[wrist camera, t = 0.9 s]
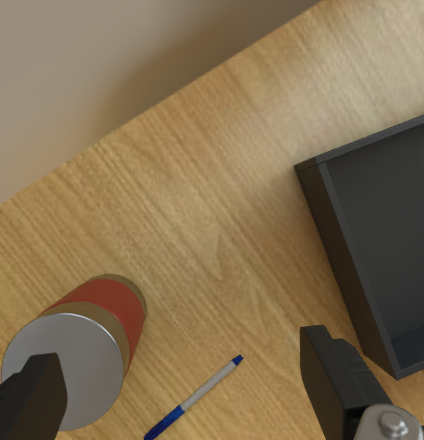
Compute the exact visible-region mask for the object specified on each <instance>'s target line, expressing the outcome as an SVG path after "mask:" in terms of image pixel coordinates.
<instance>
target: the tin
mask: <svg viewBox="0 0 424 440" xmlns="http://www.w3.org/2000/svg"><path fill="white" fill-rule="evenodd" d="M146 312H147V309H146V302H145V298H144V296H143V294H142V292H141V291H140V289H139V288H138V287H137V285H136V284H134V283H133V282H132V281H131V280H129V279H127V278H125V277H123V276H120V275H115V274H104V275H99V276H96V277H93V278H91V279H90V280H88V281H86V282H85V283H83V284H82V285H80V286H78V287H77V288H76V289H74V290H73V291H71V292H70V293H68V294H67V295H66V296H64V297H63V298H61V299H60V300H59V301H57V302H56V303H54V304H53V305H52V306H50V307H49V308H47V309H46V310H45V311H43V312H42V313H41V314H40V315H38V317H36V318H35V319H34V320H32V321H31V322H29V323H28V324H27V325H25V326H24V327H23V328H22V329H21V330H20V331H19V332H18V333H17V334H16V335H15V336H14V337H13V339H12V340H11V342H10V343H9V345H8V347H7V349H6V352H5V354H4V357H3V362H2V370H1V378H2V383H3V382H4V381H5V380H6V379H7V378H9V377H10V376H11V375H12V374H13V373H18V372H20V371H21V370H22V368H23V366H24V365H25V363H26V362H27V360H28V358H29V357H30V356H31V355H36V354H45V353H54V352H55V353H57V354H58V356H59V359H60V363H61V367H62V372H63V376H64V380H65V384H66V388H67V394H68V402H67V409H66V412H65V415H64V417H63V420H62V422H61V425H60V427H59V430H58V431H70V430H75V429H79V428H82V427H85V426H87V425H89V424H91V423H93V422H94V421H96V420H97V419H99V418H100V417H101V416H103V415H104V414H105V413H106V412H107V411H108V410H109V409H110V408H111V406H112V405H113V403H114V402H115V400H116V398H117V397H118V395H119V392H120V389H121V387H122V384H123V381H124V378H125V377H126V375H127V372H128V370H129V367H130V364H131V361H132V358H133V356H134V353H135V350H136V347H137V344H138V341H139V338H140V336H141V333H142V330H143V325H144V322H145V319H146Z"/></svg>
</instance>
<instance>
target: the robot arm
mask: <svg viewBox="0 0 424 440" xmlns="http://www.w3.org/2000/svg"><path fill="white" fill-rule="evenodd" d="M300 368H301V375H302V380H303V384H304V387H305V389H306V392H307V394H308V397H309V399H310V401H311V404H312V406H313V409H314V411H315V414H316V416H317V419H318V421H319V424H320V426H321V429H322V431H323V433H324V436H325V438H326V440H424V426H422V425H421V424H420V422H419V421H418V420H417V419H416V418H415V417H414V416H413V415H412V414H411V413H409V412H408V411H406V410H404V409H403V408H400V407H398V406H395V405H394V404H393V403H392V402H391V400H390V399H389V397H388V396H387V394H386V393H385V391H384V390H383V388H382V387H381V385H380V384H379V382H378V381H377V379H376V378H375V376H374V375H373V373H372V372H371V371H370V370H369V367H368V366H367V364H366V363H365V361H363V358H362V357H361V356H360V354H359V353H358V351H357V350H356V348H355V347H354V346H352V345H351V344H350V343H348V342H347V341H345V340H344V339H342V338H340V339H332V337H331V335H330V334H329V332H328V331H327V329H326V327H325V326H324V325H314V326H305V327H301V328H300ZM67 402H68V394H67V388H66V384H65V380H64V376H63V372H62V367H61V363H60V359H59V356H58V354H57V353H55V352H54V353H45V354H36V355H31V356H30V357H29V358H28V360H27V362H26V363H25V365H24V366H23V368H22V370H21V371H20V372H18V373H13V374H12V375H11V376H10V377H9V378H7V379H6V380H5V381H4V382H3V383H2V384H1V385H0V440H55V438H56V435H57V433H58V430H59V427H60V425H61V422H62V420H63V417H64V415H65V412H66V409H67Z"/></svg>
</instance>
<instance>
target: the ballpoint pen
mask: <svg viewBox="0 0 424 440" xmlns="http://www.w3.org/2000/svg"><path fill="white" fill-rule="evenodd" d="M242 359H243V357H241V355H239V356H237V357H236V358H234V359H232V360H231V361H230V362H229V363H228V364H226V365H225V366H224V367H223V368H222V369H221V370H220V371H218V372H217V373H216V374H215V375H214V376H213V377H212V378H210V379H209V380H208V381H207V382H206V383H205V384H204V385H202V386H201V387H200V388H199V389H198V390H197V391H195V392H194V393H193V394H192V395H191V396H190V397H189V398H187V399H186V400H185V401H184V402H183V403H182V404H181V405H178V407H176V409H174V410H173V411H172V412H171V413H169V415H167V417H165V418H164V419H163V420H161V421H160V422H159V423H158V424H157V425H156V426H154V427H153V428H152V429H151V430H150V431H149V432H148V433H147V434H146V435H145V436H144V440H153V439H154V438H156V437H157V436H158V435H159V434H160V433H162V432H163V431H164V430H165V429H166V428H167V427H169V426H170V425H171V424H172V423H173V422H174V421H175V420H177V419H178V418H179V417H180V416H181V415H182V414H184V412H185V411H186V410H187V409H188V408H189V407H191V406H192V405H193V404H194V403H195V402H196V401H197V400H199V399H200V398H201V397H202V396H203V395H204V394H205V393H207V392H208V391H209V390H210V389H211V388H212V387H213V386H215V385H216V384H217V383H218V382H219V381H220V380H222V379H223V378H224V377H225V376H226V375H227V374H228V373H230V372H231V371H232V370H233V369H234V368H235V367H236V366H237V365H238V364H239V363H240V362H241V360H242Z"/></svg>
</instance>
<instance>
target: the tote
mask: <svg viewBox="0 0 424 440" xmlns="http://www.w3.org/2000/svg"><path fill="white" fill-rule="evenodd" d="M294 168H295V171H296V173H297V176H298V179H299V181H300V184H301V187H302V189H303V192H304V195H305V197H306V200H307V203H308V205H309V208H310V211H311V213H312V216H313V219H314V221H315V224H316V227H317V230H318V232H319V235H320V238H321V240H322V243H323V246H324V248H325V251H326V254H327V256H328V259H329V262H330V264H331V267H332V270H333V272H334V275H335V278H336V281H337V283H338V286H339V289H340V291H341V294H342V297H343V299H344V302H345V305H346V307H347V310H348V313H349V315H350V318H351V321H352V323H353V326H354V329H355V331H356V334H357V337H358V340H359V342H360V345H361V348H362V350H363V353H364V355H365V356H367V357H368V358H369V359H370V360H372V361H373V362H374V363H375V364H377V365H378V366H379V367H380V368H382V369H383V370H384V371H385V372H387V373H388V374H389V375H391V376H392V377H393V378H394V379H396V380H400V379H402V378H404V377H407V376H409V375H411V374H414V373H416V372H418V371H421V370H423V369H424V115H422V116H419V117H416V118H414V119H411V120H409V121H406V122H403V123H401V124H398V125H396V126H393V127H390V128H388V129H385V130H383V131H380V132H377V133H375V134H372V135H370V136H367V137H365V138H362V139H359V140H357V141H354V142H352V143H349V144H346V145H344V146H341V147H339V148H336V149H333V150H331V151H328V152H326V153H323V154H320V155H318V156H315V157H313V158H310V159H308V160H306V161H303V162H301V163H298V164H296V165H294Z"/></svg>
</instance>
